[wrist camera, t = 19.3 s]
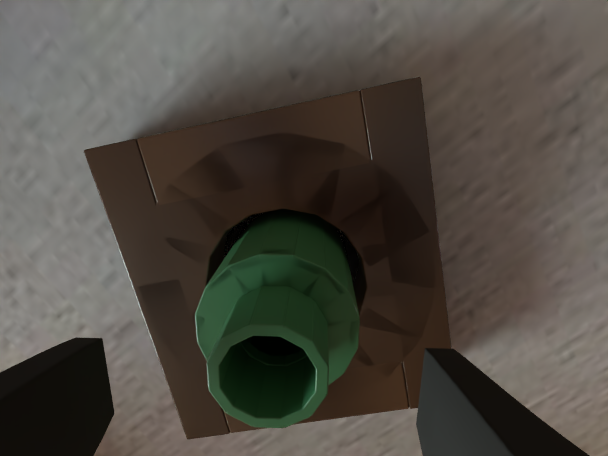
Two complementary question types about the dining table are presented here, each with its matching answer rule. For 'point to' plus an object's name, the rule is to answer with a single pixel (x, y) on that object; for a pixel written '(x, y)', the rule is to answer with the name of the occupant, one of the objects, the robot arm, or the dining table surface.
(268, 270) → the bottle
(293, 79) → the dining table surface
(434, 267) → the holder
